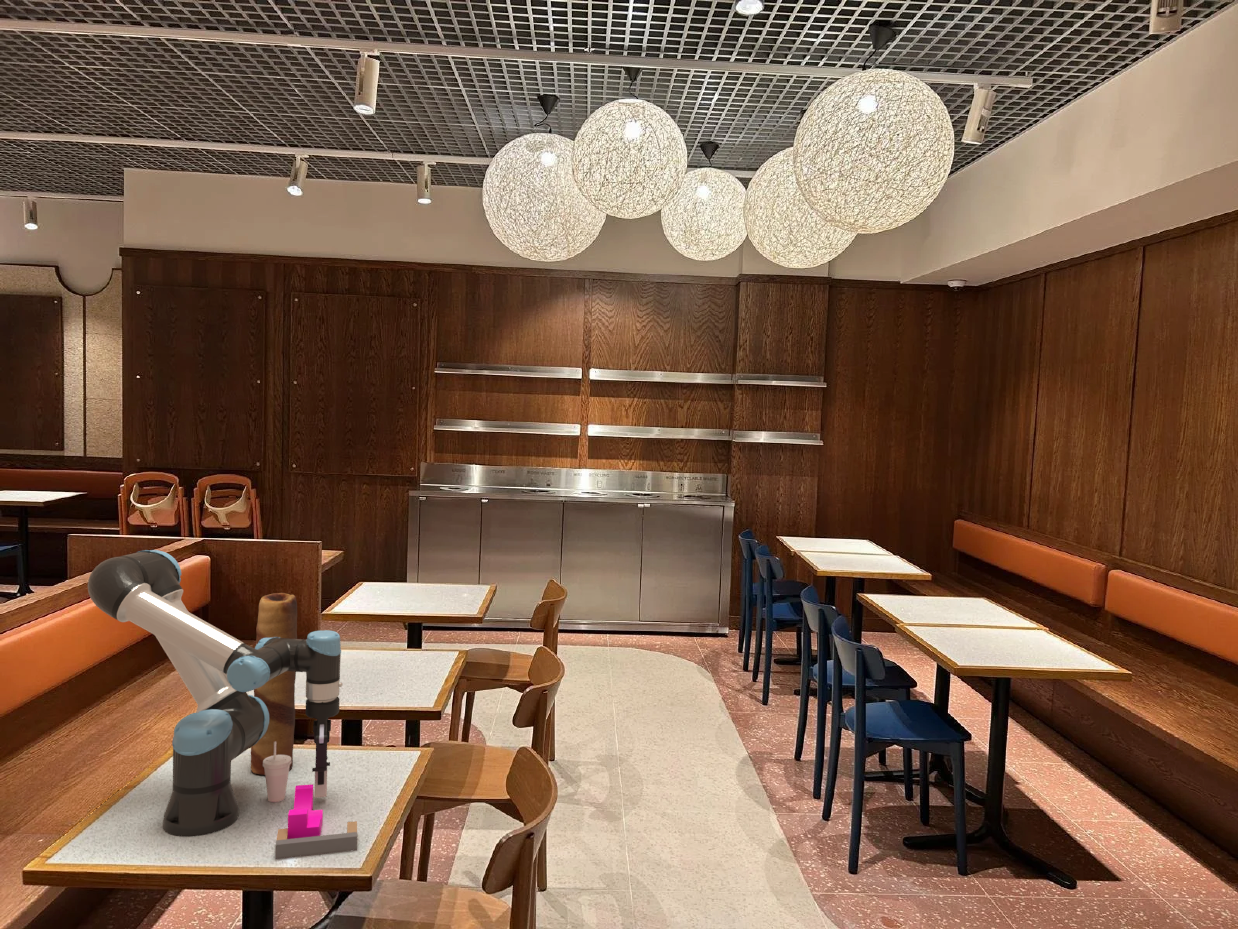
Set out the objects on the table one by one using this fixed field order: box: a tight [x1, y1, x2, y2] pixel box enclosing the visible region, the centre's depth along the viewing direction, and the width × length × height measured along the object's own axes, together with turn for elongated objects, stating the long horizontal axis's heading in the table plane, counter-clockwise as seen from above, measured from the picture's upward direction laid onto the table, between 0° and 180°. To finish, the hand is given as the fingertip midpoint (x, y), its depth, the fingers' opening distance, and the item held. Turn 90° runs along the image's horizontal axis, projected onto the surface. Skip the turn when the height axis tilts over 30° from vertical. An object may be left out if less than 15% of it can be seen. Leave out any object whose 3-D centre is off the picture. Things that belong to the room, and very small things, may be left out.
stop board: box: [274, 821, 358, 860], centre depth 180 cm, size 16×7×4 cm, turn 108°
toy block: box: [287, 783, 324, 839], centre depth 187 cm, size 15×6×8 cm, turn 15°
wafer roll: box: [250, 592, 298, 776], centre depth 218 cm, size 10×11×45 cm
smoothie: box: [263, 741, 292, 803], centre depth 202 cm, size 6×6×14 cm
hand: (320, 795), depth 201 cm, fingers closed
